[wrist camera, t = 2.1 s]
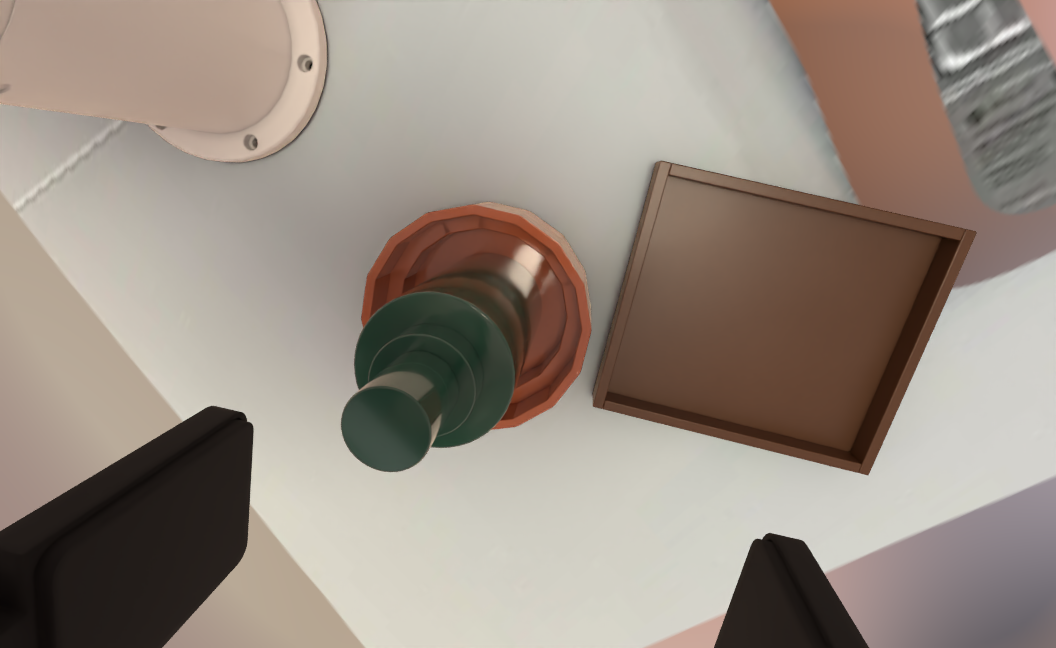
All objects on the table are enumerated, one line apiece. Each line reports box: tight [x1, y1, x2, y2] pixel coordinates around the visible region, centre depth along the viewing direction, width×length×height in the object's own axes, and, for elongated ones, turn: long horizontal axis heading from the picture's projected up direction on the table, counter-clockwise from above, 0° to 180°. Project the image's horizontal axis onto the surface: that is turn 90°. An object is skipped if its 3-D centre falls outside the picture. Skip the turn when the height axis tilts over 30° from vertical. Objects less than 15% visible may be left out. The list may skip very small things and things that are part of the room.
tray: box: [593, 161, 976, 475], centre depth 30 cm, size 16×14×2 cm
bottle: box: [341, 253, 542, 472], centre depth 24 cm, size 6×6×17 cm
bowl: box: [361, 202, 591, 430], centre depth 30 cm, size 12×12×5 cm
